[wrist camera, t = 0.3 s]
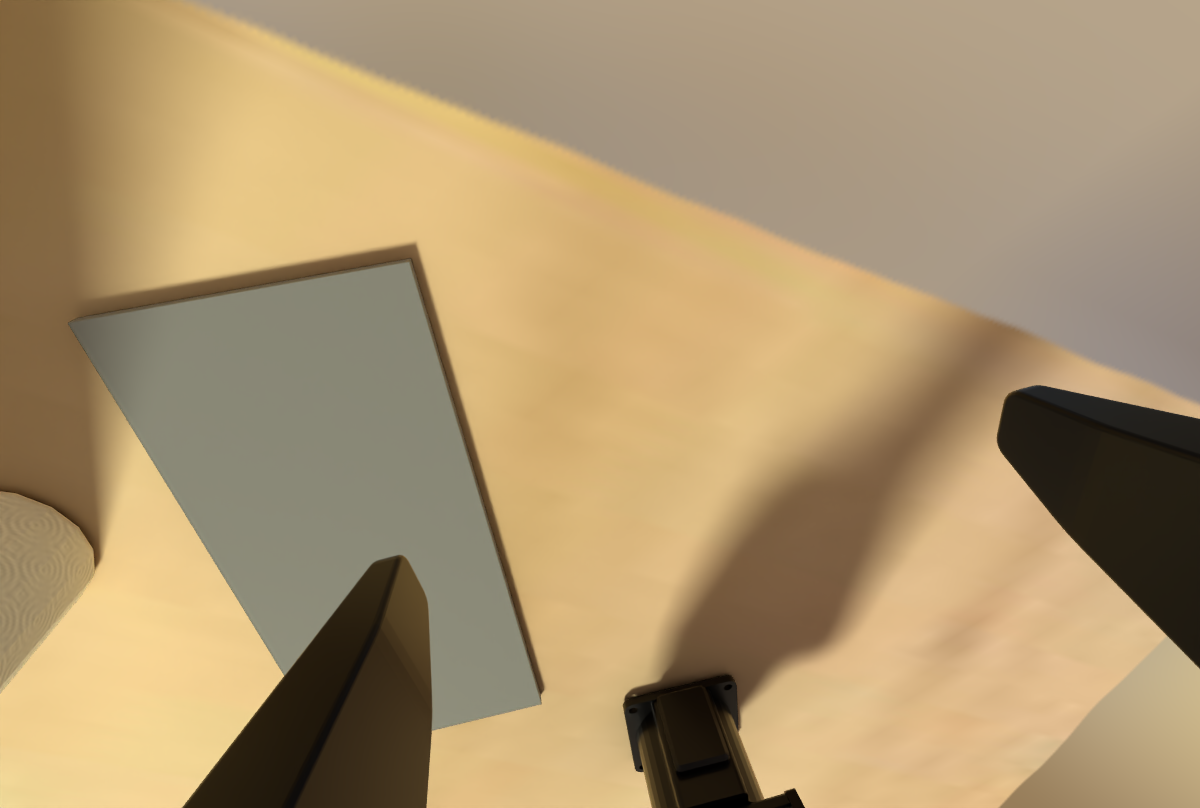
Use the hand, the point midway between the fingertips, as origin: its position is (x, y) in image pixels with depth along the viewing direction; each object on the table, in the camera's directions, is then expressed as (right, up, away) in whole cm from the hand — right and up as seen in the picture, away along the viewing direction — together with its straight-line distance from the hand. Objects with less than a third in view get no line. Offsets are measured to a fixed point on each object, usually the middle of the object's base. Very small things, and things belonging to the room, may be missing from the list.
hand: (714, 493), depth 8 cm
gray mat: (-12, -5, +17) cm, 21 cm away
